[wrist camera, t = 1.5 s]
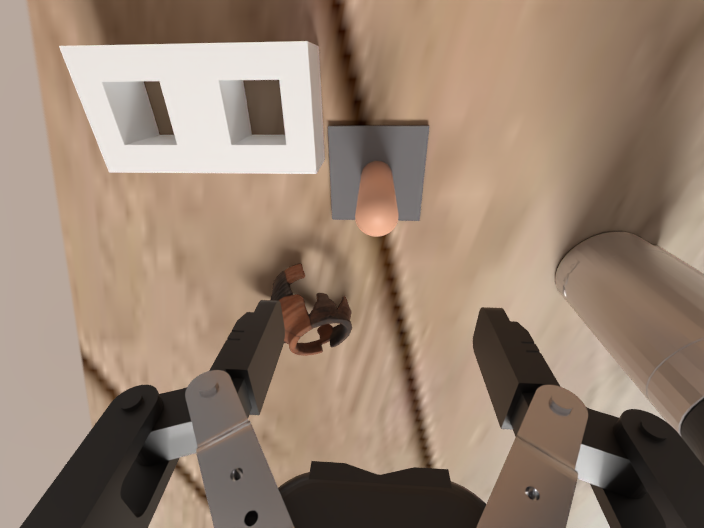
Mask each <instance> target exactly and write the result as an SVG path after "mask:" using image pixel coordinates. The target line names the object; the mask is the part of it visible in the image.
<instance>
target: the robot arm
mask: <svg viewBox="0 0 704 528" xmlns="http://www.w3.org/2000/svg"><path fill="white" fill-rule="evenodd" d="M555 282H556V286H557V289H558V291H559V292H560V294H561V295H562V296H563V297H564V299H565V300H566V301H567V302H568V303H569V305H570V306H571V307H572V308H573V309H574V311H575V312H576V313H577V314H578V316H579V317H580V318H581V319H582V321H583V322H584V323H585V324H586V325H587V327H588V328H589V329H590V330H591V331H592V333H593V334H594V335H595V336H596V337H597V339H598V340H599V341H600V342H601V343H602V345H603V346H604V347H605V348H606V350H607V351H608V352H609V353H610V354H611V356H612V357H613V358H614V359H615V360H616V362H617V363H618V364H619V365H620V366H621V368H622V369H623V370H624V371H625V372H626V374H627V375H628V376H629V377H630V378H631V380H632V381H633V382H634V383H635V385H636V386H637V387H638V388H639V389H640V391H641V392H642V393H643V394H644V395H645V397H646V398H647V399H648V400H649V401H650V402H651V404H652V405H653V406H654V407H655V408H656V410H657V411H658V412H659V413H660V414H661V416H662V417H663V418H664V419H665V420H666V422H665V421H664V420H662V419H661V418H659V417H657V416H655V415H653V414H651V413H649V412H646V411H642V410H637V409H630V410H626V411H624V412H623V413H622V415H621V416H620V418H618V417H615V416H611V415H608V414H605V413H601V412H598V411H595V410H592V409H589V408H587V407H586V406H585V405H584V403H583V402H582V401H581V400H580V399H579V398H578V397H577V396H576V395H575V394H573V393H572V392H570V391H569V390H567V389H565V388H562V387H560V385H559V383H558V382H557V380H556V378H555V377H554V375H553V373H552V371H551V370H550V368H549V366H548V365H547V363H546V361H545V360H544V358H543V356H542V354H541V353H539V349H538V348H537V346H536V344H534V341H533V339H532V337H531V336H530V334H529V332H528V331H527V330H526V329H525V328H524V327H522V326H521V325H520V324H519V323H518V322H512V321H510V320H509V318H508V317H507V315H506V313H505V311H504V309H502V308H484V307H482V308H481V309H480V311H479V315H478V319H477V323H476V327H475V331H474V336H473V349H474V353H475V356H476V359H477V362H478V364H479V367H480V370H481V373H482V376H483V379H484V382H485V384H486V387H487V390H488V393H489V396H490V399H491V402H492V404H493V407H494V410H495V413H496V416H497V419H498V422H499V424H500V427H501V429H512V430H513V431H514V434H515V436H516V438H515V440H514V442H513V445H512V447H511V449H510V452H509V454H508V456H507V458H506V461H505V463H504V465H503V468H502V470H501V472H500V475H499V477H498V479H497V481H496V484H495V486H494V488H493V491H492V493H491V495H490V497H489V500H488V502H487V504H486V503H485V502H484V501H482V500H481V499H480V498H479V497H478V496H476V495H475V494H474V493H473V492H471V491H469V490H468V489H466V488H465V487H463V486H461V485H459V484H456V483H454V482H451V481H450V476H449V471H448V469H432V468H415V467H414V468H409V469H405V470H400V471H396V472H392V473H387V474H383V475H377V474H374V473H371V472H368V471H365V470H363V469H360V468H357V467H354V466H351V465H348V464H346V463H334V462H317V461H312V462H311V468H310V472H308V473H304V474H301V475H299V476H296V477H294V478H292V479H290V480H288V481H287V482H285V483H284V484H283V485H281V486H280V487H279V488H278V487H277V485H276V482H275V480H274V477H273V475H272V473H271V470H270V468H269V465H268V463H267V461H266V458H265V456H264V453H263V451H262V449H261V446H260V444H259V441H258V439H257V437H256V434H255V432H254V429H253V427H252V425H251V423H250V421H248V417H249V415H260V412H261V409H262V406H263V403H264V400H265V397H266V394H267V391H268V388H269V385H270V382H271V379H272V376H273V374H274V371H275V368H276V365H277V362H278V359H279V356H280V353H281V350H282V347H283V344H284V339H285V327H284V321H283V314H282V308H281V303H280V301H271V300H261V301H260V302H259V303H258V305H257V307H256V309H255V311H254V312H247V313H246V314H244V315H243V316H242V317H241V318H240V319H239V320H237V322H236V324H235V326H234V327H233V329H232V332H231V333H230V335H229V336H228V338H227V340H226V342H225V344H224V345H223V347H222V349H221V351H220V353H219V354H218V356H217V358H216V360H215V362H214V363H213V365H212V367H211V369H210V370H209V371H208V372H205V373H203V374H201V375H199V376H197V377H196V378H195V379H193V380H192V382H191V383H190V384H189V385H188V387H187V388H184V389H180V390H175V391H171V392H166V393H162V394H159V393H158V391H157V389H156V388H155V387H153V386H151V385H139V386H135V387H132V388H130V389H128V390H126V391H124V392H123V393H121V394H120V395H119V396H117V397H116V398H115V399H114V400H113V401H112V402H111V404H110V405H109V406H108V408H107V409H106V410H105V412H104V413H103V415H102V416H101V417H100V419H99V420H98V421H97V423H96V424H95V426H94V427H93V428H92V430H91V431H90V432H89V434H88V435H87V436H86V438H85V439H84V441H83V442H82V443H81V445H80V446H79V447H78V449H77V450H76V451H75V453H74V454H73V456H72V457H71V458H70V460H69V461H68V462H67V464H66V465H65V466H64V468H63V469H62V471H61V472H60V473H59V475H58V476H57V477H56V479H55V480H54V482H53V483H52V484H51V486H50V487H49V488H48V490H47V491H46V492H45V494H44V495H43V497H42V498H41V499H40V501H39V502H38V503H37V505H36V506H35V507H34V509H33V510H32V512H31V513H30V514H29V516H28V517H27V518H26V520H25V521H24V522H23V524H22V525H21V527H20V528H148V526H149V524H150V522H151V519H152V517H153V515H154V513H155V511H156V508H157V506H158V504H159V502H160V499H161V497H162V495H163V493H164V491H165V488H166V486H167V484H168V482H169V480H170V477H171V475H172V473H173V471H174V468H175V466H176V464H177V462H178V460H179V458H180V457H183V456H187V455H191V454H194V453H197V458H198V462H199V466H200V470H201V475H202V479H203V483H204V487H205V491H206V496H207V500H208V504H209V508H210V512H211V516H212V521H213V525H214V528H566V525H567V520H568V516H569V512H570V508H571V504H572V500H573V496H574V492H575V488H576V483H577V479H579V480H582V481H585V482H588V483H590V485H591V487H592V489H593V491H594V493H595V496H596V498H597V500H598V502H599V504H600V506H601V509H602V511H603V513H604V515H605V517H606V519H607V522H608V524H609V526H610V528H704V274H703V273H702V272H700V271H698V270H697V269H695V268H694V267H692V266H690V265H689V264H687V263H685V262H684V261H682V260H681V259H679V258H677V257H676V256H674V255H672V254H671V253H669V252H668V251H666V250H664V249H663V248H661V247H659V246H656V245H652V244H650V243H649V242H647V241H645V240H644V239H642V238H641V237H639V236H637V235H635V234H632V233H628V232H608V233H603V234H599V235H596V236H593V237H591V238H589V239H587V240H585V241H583V242H581V243H580V244H578V245H577V246H575V247H574V248H573V249H572V250H571V251H570V252H568V253H567V254H566V256H565V257H564V258H563V260H562V261H561V262H560V264H559V266H558V268H557V272H556V276H555Z"/></svg>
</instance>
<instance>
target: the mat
mask: <svg viewBox="0 0 704 528" xmlns="http://www.w3.org/2000/svg"><path fill="white" fill-rule="evenodd" d="M428 134H429V126H328V138H329V159H330V181H331V202H332V219H337V220H355V213H356V207H357V200H358V193H359V187H360V180H361V174H362V170H363V168H364V167H365V166H366V165H367V164H368V163H370V162H372V161H382V162H384V163H386V164H387V165H388V166H389V167H390V169H391V171H392V176H393V182H394V189H395V195H396V202H397V208H398V220H401V221H419V220H420V211H421V201H422V192H423V182H424V172H425V163H426V153H427V144H428Z"/></svg>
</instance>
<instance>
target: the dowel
mask: <svg viewBox="0 0 704 528" xmlns="http://www.w3.org/2000/svg"><path fill="white" fill-rule="evenodd" d="M355 220H356V223H357V225H358V227H359V228H360V230H361V231H363V232H364V233H365V234H367V235H370V236H383V235H386V234H388V233H389V232H391V231H392V230H393V229H394V228H395V226H396V224H397V222H398V208H397V202H396V195H395V189H394V182H393V176H392V171H391V169H390V167H389V166H388V165H387V164H386V163H384V162H382V161H372V162H370V163H368V164H367V165H366V166H365V167H364V168H363V170H362V174H361V180H360V187H359V193H358V200H357V207H356V213H355Z"/></svg>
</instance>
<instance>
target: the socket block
mask: <svg viewBox="0 0 704 528" xmlns="http://www.w3.org/2000/svg"><path fill="white" fill-rule="evenodd" d="M59 48H60V50H61V53H62V55H63V58H64V60H65V63H66V65H67V68H68V70H69V73H70V75H71V78H72V80H73V83H74V85H75V88H76V90H77V93H78V95H79V98H80V100H81V103H82V105H83V108H84V110H85V113H86V115H87V118H88V120H89V123H90V125H91V128H92V130H93V133H94V135H95V138H96V140H97V143H98V145H99V148H100V150H101V153H102V155H103V158H104V160H105V163H106V165H107V168H108V170H109V172H129V173H279V174H317V172H318V170H319V169H320V167H321V165H322V164H323V162H324V160H325V152H324V133H323V115H322V96H321V77H320V58H319V46H317V45H315V44H313V43H310V42H308V41H291V42H239V43H188V44H137V45H86V46H59ZM243 80H279V82H280V91H281V100H282V109H283V118H284V127H285V135H252V131H251V125H250V119H249V113H248V107H247V100H246V94H245V88H244V82H243ZM144 81H160V85H161V89H162V92H163V96H164V99H165V103H166V107H167V110H168V114H169V117H170V121H171V124H172V128H173V132H174V135H160V134H159V131H158V127H157V124H156V121H155V117H154V114H153V111H152V107H151V104H150V101H149V97H148V94H147V91H146V87H145V84H144Z"/></svg>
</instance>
